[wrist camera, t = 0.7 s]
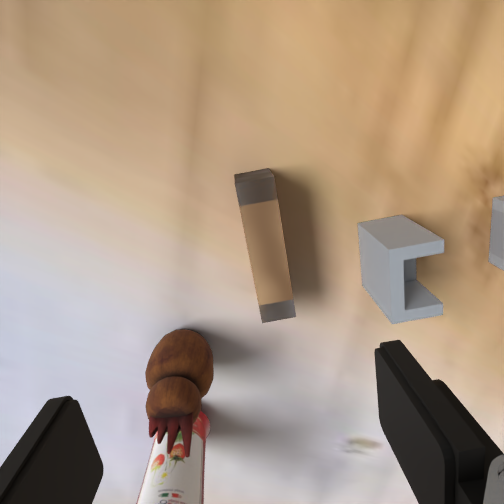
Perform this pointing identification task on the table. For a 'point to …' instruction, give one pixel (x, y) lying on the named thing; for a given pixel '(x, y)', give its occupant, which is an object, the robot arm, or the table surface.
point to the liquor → (176, 469)
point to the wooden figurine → (177, 385)
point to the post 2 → (497, 233)
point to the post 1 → (397, 267)
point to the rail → (265, 243)
